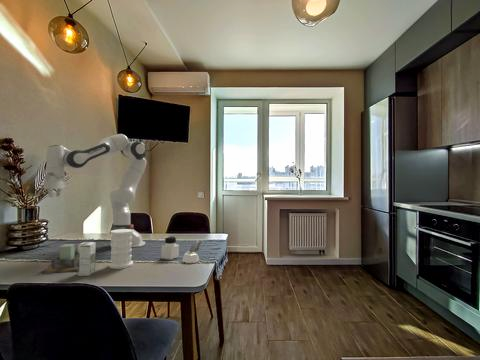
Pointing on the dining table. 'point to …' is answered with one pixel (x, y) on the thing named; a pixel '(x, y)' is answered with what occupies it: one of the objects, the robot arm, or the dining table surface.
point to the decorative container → (121, 249)
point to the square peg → (67, 251)
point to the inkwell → (192, 253)
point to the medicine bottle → (170, 248)
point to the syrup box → (86, 259)
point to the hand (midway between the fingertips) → (54, 196)
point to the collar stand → (62, 265)
